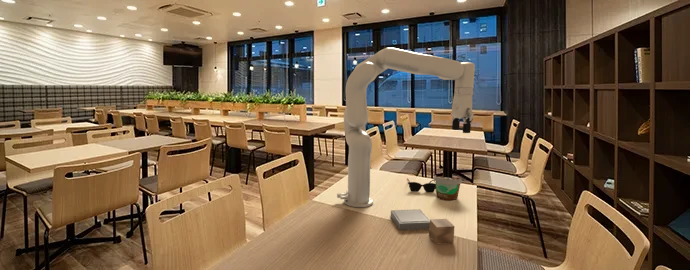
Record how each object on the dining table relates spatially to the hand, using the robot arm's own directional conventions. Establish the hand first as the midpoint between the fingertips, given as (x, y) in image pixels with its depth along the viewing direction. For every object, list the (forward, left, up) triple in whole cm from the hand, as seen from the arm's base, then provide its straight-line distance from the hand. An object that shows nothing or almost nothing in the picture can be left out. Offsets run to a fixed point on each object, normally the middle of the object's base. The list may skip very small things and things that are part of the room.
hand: (460, 131), depth 144 cm
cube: (-23, -36, -31) cm, 53 cm away
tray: (-29, -22, -31) cm, 48 cm away
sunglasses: (-10, +18, -32) cm, 38 cm away
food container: (-5, 0, -31) cm, 32 cm away
